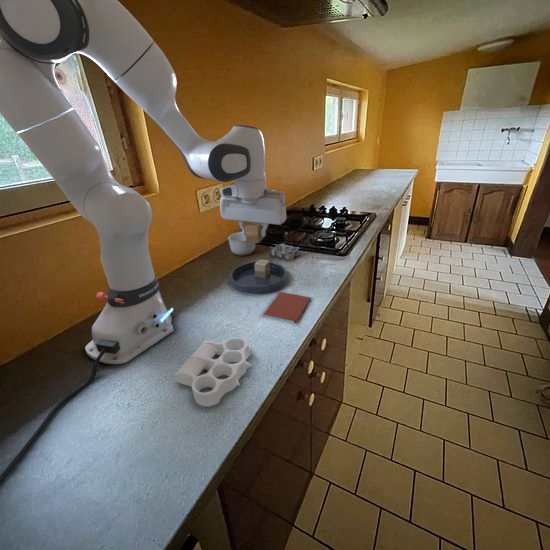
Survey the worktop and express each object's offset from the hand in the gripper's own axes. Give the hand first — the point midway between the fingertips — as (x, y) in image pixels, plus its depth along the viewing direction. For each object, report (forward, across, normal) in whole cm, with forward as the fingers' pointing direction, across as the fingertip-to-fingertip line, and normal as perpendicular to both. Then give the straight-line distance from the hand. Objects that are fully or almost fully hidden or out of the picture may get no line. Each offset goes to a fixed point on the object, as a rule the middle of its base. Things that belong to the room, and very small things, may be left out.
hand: (254, 235), depth 92 cm
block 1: (+2, 0, 0) cm, 2 cm away
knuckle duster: (+19, -7, +37) cm, 42 cm away
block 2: (+18, +2, -9) cm, 21 cm away
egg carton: (+19, +1, -28) cm, 34 cm away
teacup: (+19, +19, -27) cm, 38 cm away
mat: (+19, -13, +7) cm, 24 cm away
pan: (+19, +2, -5) cm, 20 cm away
